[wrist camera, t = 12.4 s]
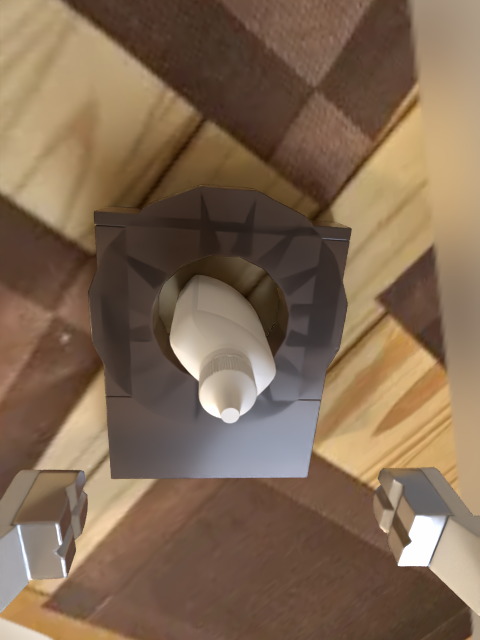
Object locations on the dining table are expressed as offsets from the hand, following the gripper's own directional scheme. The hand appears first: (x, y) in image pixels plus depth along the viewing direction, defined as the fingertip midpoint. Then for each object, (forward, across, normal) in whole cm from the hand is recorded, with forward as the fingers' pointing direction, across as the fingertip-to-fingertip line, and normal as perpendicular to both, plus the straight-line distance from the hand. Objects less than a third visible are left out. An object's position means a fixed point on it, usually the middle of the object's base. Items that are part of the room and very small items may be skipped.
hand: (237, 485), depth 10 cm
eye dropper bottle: (+16, 0, +1) cm, 16 cm away
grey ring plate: (+16, 0, +4) cm, 16 cm away
